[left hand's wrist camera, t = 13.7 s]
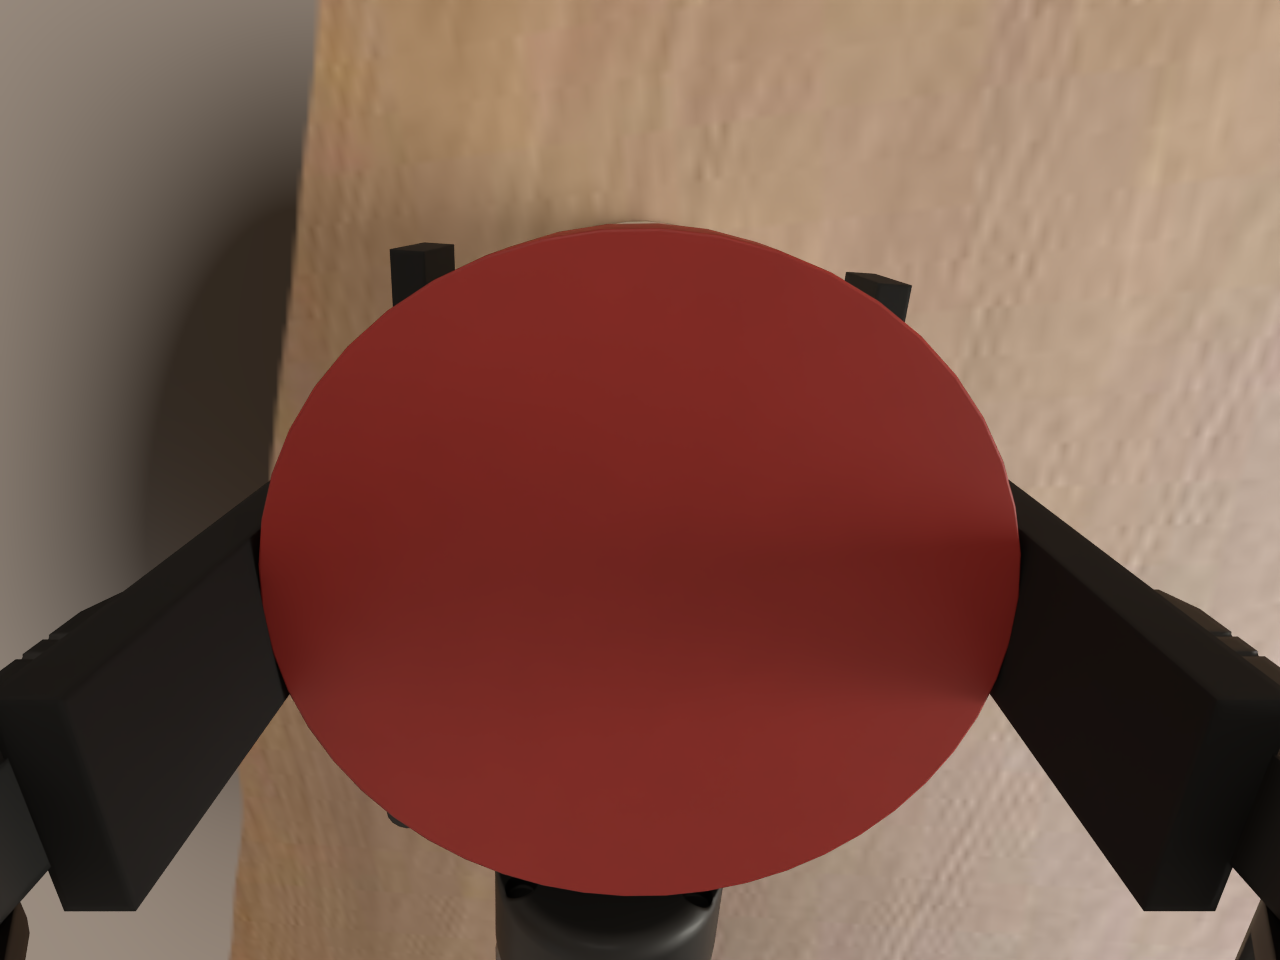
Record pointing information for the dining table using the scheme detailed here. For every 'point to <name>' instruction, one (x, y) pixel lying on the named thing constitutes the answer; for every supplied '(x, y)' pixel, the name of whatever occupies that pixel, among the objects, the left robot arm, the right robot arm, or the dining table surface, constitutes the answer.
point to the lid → (639, 561)
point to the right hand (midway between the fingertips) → (651, 262)
